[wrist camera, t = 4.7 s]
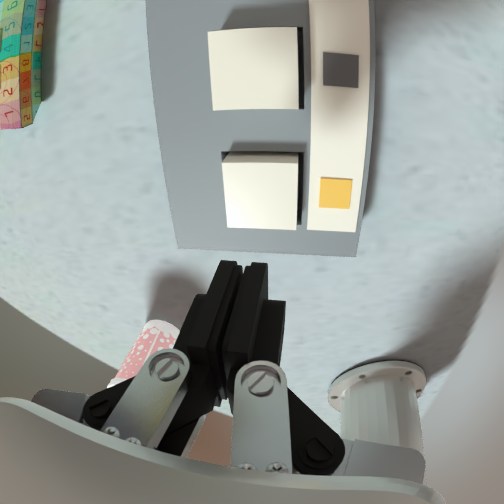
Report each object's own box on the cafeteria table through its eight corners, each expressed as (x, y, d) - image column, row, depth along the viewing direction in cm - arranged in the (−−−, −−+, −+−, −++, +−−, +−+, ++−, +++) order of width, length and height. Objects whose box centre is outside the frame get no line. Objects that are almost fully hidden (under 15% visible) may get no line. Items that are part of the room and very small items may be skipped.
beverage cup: (139, 339, 34) (94, 441, 22) (138, 307, 30) (80, 422, 19) (187, 356, 34) (152, 464, 23) (193, 325, 30) (150, 451, 19)
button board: (354, -80, 9) (362, -100, 6) (350, 232, 22) (356, 259, 19) (165, -68, 10) (143, -83, 8) (191, 226, 23) (176, 250, 21)
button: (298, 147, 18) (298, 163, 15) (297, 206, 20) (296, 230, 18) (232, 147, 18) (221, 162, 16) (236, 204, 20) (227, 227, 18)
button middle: (297, 33, 13) (296, 27, 11) (298, 101, 15) (298, 109, 13) (222, 36, 13) (207, 32, 11) (226, 102, 16) (213, 110, 13)
